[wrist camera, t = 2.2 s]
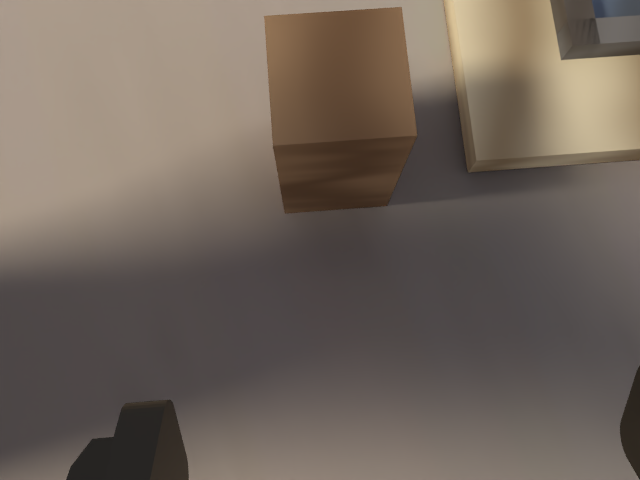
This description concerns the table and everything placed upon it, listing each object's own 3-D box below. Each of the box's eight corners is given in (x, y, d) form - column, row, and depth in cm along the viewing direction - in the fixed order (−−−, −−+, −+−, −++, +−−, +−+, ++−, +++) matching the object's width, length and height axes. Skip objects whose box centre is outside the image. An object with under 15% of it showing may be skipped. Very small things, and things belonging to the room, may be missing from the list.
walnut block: (284, 213, 27) (273, 145, 19) (278, 118, 28) (264, 16, 20) (386, 205, 27) (417, 135, 19) (376, 111, 28) (401, 6, 20)
